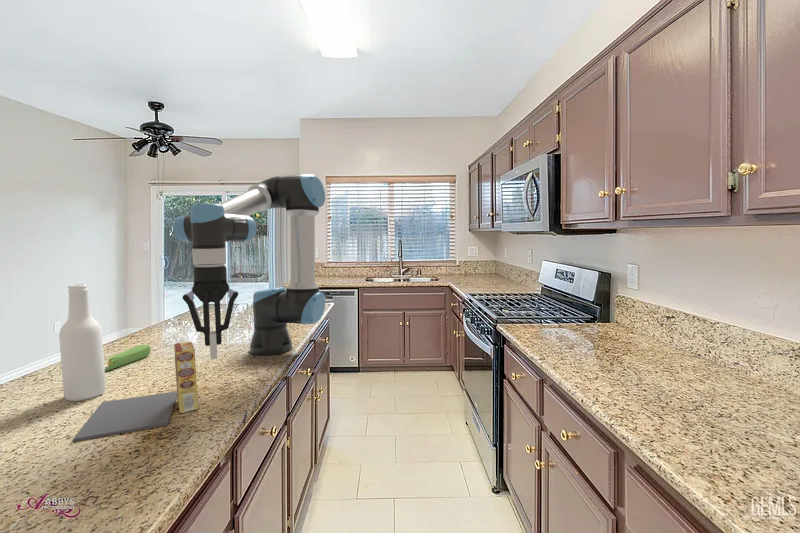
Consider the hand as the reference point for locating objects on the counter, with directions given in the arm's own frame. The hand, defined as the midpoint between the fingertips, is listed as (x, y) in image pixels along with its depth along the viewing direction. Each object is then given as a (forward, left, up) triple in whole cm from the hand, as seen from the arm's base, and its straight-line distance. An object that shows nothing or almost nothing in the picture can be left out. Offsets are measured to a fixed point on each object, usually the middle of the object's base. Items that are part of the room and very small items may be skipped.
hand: (214, 357), depth 99 cm
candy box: (+6, 0, -12) cm, 13 cm away
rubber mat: (+18, 0, -12) cm, 21 cm away
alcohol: (+32, -19, -12) cm, 40 cm away
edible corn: (+29, -47, -12) cm, 57 cm away
